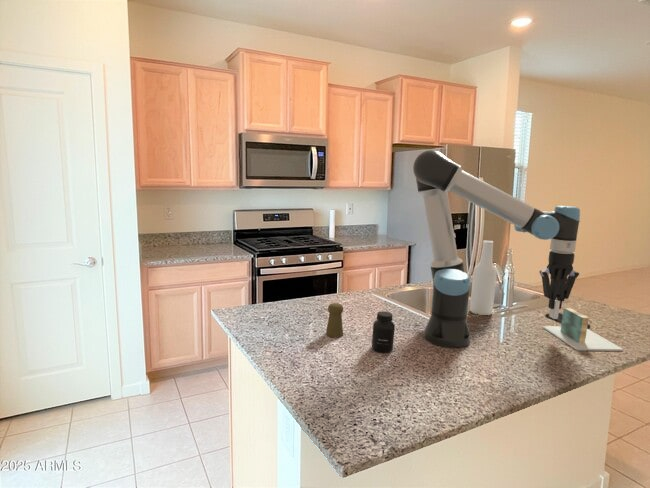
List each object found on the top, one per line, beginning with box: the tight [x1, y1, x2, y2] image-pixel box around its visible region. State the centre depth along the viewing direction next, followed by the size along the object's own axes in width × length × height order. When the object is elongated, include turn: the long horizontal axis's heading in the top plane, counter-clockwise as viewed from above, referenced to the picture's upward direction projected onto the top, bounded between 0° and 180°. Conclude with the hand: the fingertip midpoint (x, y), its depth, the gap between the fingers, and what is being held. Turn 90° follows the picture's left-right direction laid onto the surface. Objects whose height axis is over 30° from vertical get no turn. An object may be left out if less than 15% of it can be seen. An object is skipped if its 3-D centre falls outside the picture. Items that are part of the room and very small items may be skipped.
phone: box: [544, 312, 591, 329], centre depth 164 cm, size 8×1×15 cm
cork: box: [325, 302, 344, 339], centre depth 142 cm, size 6×6×11 cm
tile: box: [560, 307, 590, 343], centre depth 146 cm, size 10×2×9 cm, turn 3°
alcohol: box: [469, 239, 498, 316], centre depth 168 cm, size 9×9×30 cm
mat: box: [542, 325, 624, 352], centre depth 147 cm, size 16×20×1 cm
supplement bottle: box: [371, 310, 396, 354], centre depth 131 cm, size 7×7×12 cm
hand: (553, 317), depth 145 cm, fingers closed
